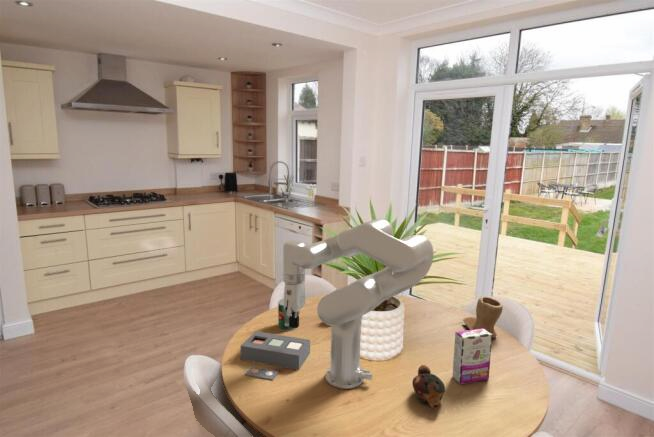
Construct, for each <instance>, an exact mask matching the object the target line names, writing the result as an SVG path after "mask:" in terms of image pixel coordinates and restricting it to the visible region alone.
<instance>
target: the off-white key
mask: <svg viewBox="0 0 654 437" xmlns="http://www.w3.org/2000/svg"><path fill="white" fill-rule="evenodd" d="M301 346H302V344H300V343H294V342H290V343H289V345H288V346H287V347H286V348H288V349H294V350H299V349H300V348H301Z"/></svg>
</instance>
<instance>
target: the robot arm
mask: <svg viewBox="0 0 654 437" xmlns="http://www.w3.org/2000/svg"><path fill="white" fill-rule="evenodd" d="M282 251H283V252H282V253H283V254H282V255H283V256H282V258H283V262H282V264H283V265H282V266H283V272H282V273H283V274H282V276H283V277H282V279H283V283H284V288H283V289H284V290H283V291H284V292H283V299H284V310H285V311H287V316H289V327H292V328H296V329H298V328H299V327H300V310H302V308H303V307H304V306H305V304H306V302H307V301H306V300H307V297H306V283H305V282H306V270H311V269H314V268H316V267H319V266H321V265H323V264H326V263H328V262H331V261H333V260H337V259H340V258H343V257H344V258H345V257H347V258H352V257H355V256H358V255H361V254H363V255H365V256H366V257H368V258H371V259H372V260H374V261H376V262H378V263H380V264H381V265H383V266H385V268H382V269H381V270H377V271H376V272H374V273H371V274H368V275H365V276H362V277H361V278H359V279H357V280H355V281H353V282H351V283H350V284H345V285H343V286H340V287H339V288H337V289H335V290H334V291H332V292H330V293H328V294H326V295H324V296H323V297H322V298H321V299H320V300H319V302H318V304H317V308H316V310H317V312H316V313H317V316H318V318H319V319H320V321H322V323H324V324H325V325H327V326H329V327H331V332H330V335H331V336H330V363H329V364H330V365H329V366H330V368H328V369H327V370H326V372H325V380H326V382H327V383H328V384H329V385H331V386H333V387H334V388H338V389H343V390H347V389H349V390H350V389H355V388H357V387H359V386H360V385H362V384H363V382H364V381H365V380H368V381H372V380H373V373H371V370H370V369H364V368H362V365H363V364H362V363H361V362H360V361H361V360H360V359H361V337H362V336H361V335H362V334H361V333H362V321H363V316H364V315H366V314H368V313H370V312H372V311H373V310H374V309H376V308H377V307H379V306H380V305H381V304H383V303H384V302H385V301H387V300H389V299H391V298H393V297H395V296H397V295H399V294H401V293H404V292H406V291H407V290H409V289H411V288H413V287H414V286H416V285H417V284H419V283H420V282H421V281H422V280H423V279H424V278H425V277H426V276H427V274H428V273H429V271H430V269H431V267H432V266H433V261H434V247H433V244H432V241H431V240H430V239H429V238H428V237H426V236H424V235H420V234H411V235H409V236H406V237H403V238H402V239H398V238H397V237H394V229H393V226H392V224H391V223H390V222H389V221H388V220H386V219H383V218H376V219H372V220H368V221H365V222H363V223H361V224H358V225H356V226H353V227H350V228H347V229H345V230H342V231H340V232H339V234H337V235H334V236H331V237H329V238H326V239H323V240H320V241H317V242H314V243H311V244H305V243H304V242H303V241H300V240H288V241H286V242H284V244H283V250H282Z"/></svg>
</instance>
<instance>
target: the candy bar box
mask: <svg viewBox="0 0 654 437" xmlns="http://www.w3.org/2000/svg"><path fill="white" fill-rule="evenodd" d="M492 341H493V338H492V334H491V333H490V332H488V331H487V330H486V329H484V328H482V329H475V330H470V329H469V330H467V329H466V330H461V331H455V332H454V346H453V347H454V349H453V364H452V378H453V379H454V380H455V381H457V383H458V384H459V385H464V384H470V383H476V382H482V381H487V380H489V379H490V366H491V354H492V343H493V342H492Z"/></svg>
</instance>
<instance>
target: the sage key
mask: <svg viewBox="0 0 654 437" xmlns="http://www.w3.org/2000/svg"><path fill="white" fill-rule="evenodd" d="M283 343H284V341H282V340H276V339H272V341H271V342H270V343H269V344H268V345H270V346H276V347H281V345H282V344H283Z"/></svg>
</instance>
